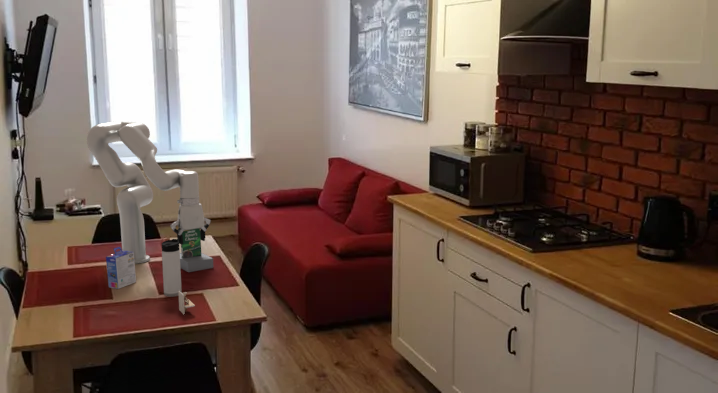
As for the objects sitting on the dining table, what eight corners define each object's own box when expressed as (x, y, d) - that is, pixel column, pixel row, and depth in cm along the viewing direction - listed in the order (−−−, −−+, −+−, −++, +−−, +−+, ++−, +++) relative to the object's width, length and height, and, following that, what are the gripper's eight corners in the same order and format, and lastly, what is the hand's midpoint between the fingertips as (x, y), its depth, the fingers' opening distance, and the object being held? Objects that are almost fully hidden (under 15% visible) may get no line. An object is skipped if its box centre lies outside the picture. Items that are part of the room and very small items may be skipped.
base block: (188, 272, 293) (188, 262, 292) (172, 263, 305) (171, 254, 304) (213, 267, 299) (213, 258, 299) (196, 259, 312) (196, 250, 311)
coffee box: (182, 258, 298) (180, 227, 296) (180, 256, 301) (179, 225, 298) (201, 256, 302) (200, 225, 299) (199, 254, 304) (198, 223, 302)
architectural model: (188, 309, 251) (187, 288, 250) (195, 315, 245) (194, 294, 244) (179, 311, 249) (178, 290, 248) (185, 317, 244) (184, 296, 242)
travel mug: (185, 292, 268) (183, 239, 264) (175, 297, 262) (172, 243, 258) (170, 290, 270) (168, 238, 266) (160, 295, 264) (157, 242, 260)
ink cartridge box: (125, 280, 282) (123, 244, 280) (136, 282, 280) (134, 245, 277) (107, 287, 273) (104, 250, 271) (118, 289, 271) (116, 251, 268)
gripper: (173, 205, 289) (175, 247, 292) (213, 200, 299) (214, 240, 303) (166, 202, 295) (168, 243, 298) (205, 197, 305) (206, 237, 308)
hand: (191, 242), depth 300 cm, fingers open, 9 cm apart
